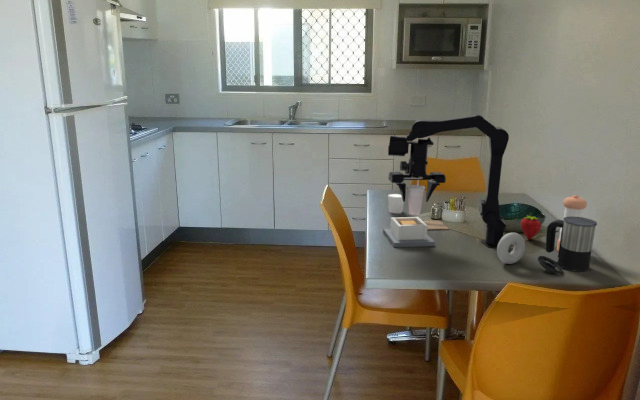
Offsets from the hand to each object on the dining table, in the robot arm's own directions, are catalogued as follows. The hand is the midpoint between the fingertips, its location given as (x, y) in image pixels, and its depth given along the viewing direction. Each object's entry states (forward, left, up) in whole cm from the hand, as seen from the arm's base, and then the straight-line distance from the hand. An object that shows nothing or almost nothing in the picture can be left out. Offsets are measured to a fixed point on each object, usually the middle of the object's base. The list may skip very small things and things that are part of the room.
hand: (415, 201), depth 184 cm
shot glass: (+35, -3, -14) cm, 38 cm away
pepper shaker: (-18, -48, -14) cm, 53 cm away
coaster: (+14, -11, -13) cm, 22 cm away
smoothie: (0, 0, -5) cm, 5 cm away
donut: (-27, -23, -14) cm, 38 cm away
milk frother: (-32, -37, -14) cm, 51 cm away
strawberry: (-5, -41, -14) cm, 43 cm away
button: (-1, +2, -9) cm, 10 cm away
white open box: (-1, +2, -13) cm, 14 cm away
